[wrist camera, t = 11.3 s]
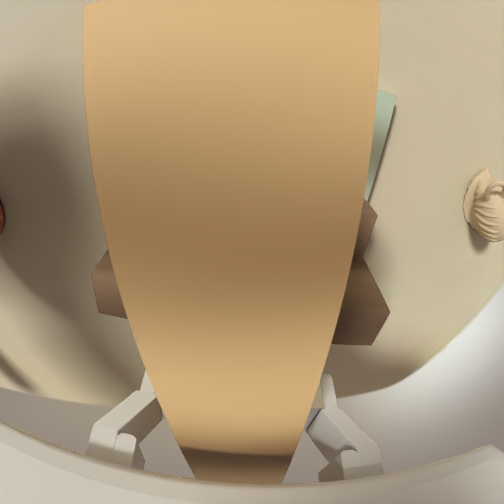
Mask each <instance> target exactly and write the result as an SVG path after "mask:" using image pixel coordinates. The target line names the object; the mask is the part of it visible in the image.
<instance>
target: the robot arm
mask: <svg viewBox="0 0 504 504" xmlns="http://www.w3.org/2000/svg"><path fill="white" fill-rule="evenodd" d="M162 418H166V417H165V415H164V413H163V410H162V408H161V406H160V404H159V401H158V399H157V396H156V394H155V392H154V389H153V387H152V384H151V382H150V379H149V377H148V374H147V372H146V370H145V374H144V377H143V381H142V385H141V388H140V391H138V390H136V391H134V392H133V393H132V394H131V395H130V396H128V397H127V398H126V399H125V400H123V401H122V402H121V403H120V404H119V405H117V406H116V407H115V408H114V409H112V410H111V411H110V412H109V413H107V414H106V415H105V416H104V417H102V418H101V419H100V420H99V421H97V422H96V423H95V424H94V427H93V429H92V433H91V436H90V439H89V443H88V446H87V450H86V453H85V454H82V453H79V452H76V451H73V450H70V449H68V448H65V447H62V446H60V445H57V444H54V443H52V442H49V441H47V440H44V439H42V438H39V437H37V436H35V435H32V434H30V433H28V432H25V431H23V430H21V429H19V428H17V427H15V426H13V425H11V424H9V423H6V422H5V421H3V420H1V419H0V504H504V453H503V452H502V451H500V450H499V449H498V448H497V447H495V446H494V445H490V444H489V445H485V446H482V447H479V448H477V449H474V450H471V451H468V452H466V453H463V454H460V455H457V456H454V457H450V458H447V459H444V460H441V461H437V462H433V463H430V464H426V465H422V466H418V467H414V468H410V469H406V470H401V471H396V472H391V473H386V474H384V472H383V467H382V462H381V457H380V453H379V449H378V446H377V445H376V444H375V443H374V442H373V441H372V440H371V439H370V437H369V436H368V435H367V434H366V433H365V432H364V431H363V430H362V429H361V428H360V427H359V426H358V425H357V424H356V423H355V422H354V421H353V420H352V419H351V418H350V417H349V416H348V415H347V413H346V412H345V411H344V410H343V409H338V404H337V399H336V394H335V389H334V385H333V380H332V376H331V375H330V374H322V375H321V379H320V382H319V385H318V388H317V391H316V394H315V397H314V400H313V403H312V406H311V409H310V412H309V415H308V417H307V420H306V423H305V426H304V429H303V430H306V432H307V434H308V435H309V436H310V438H311V439H312V441H313V442H314V443H315V445H316V446H317V448H318V449H319V450H320V452H321V453H322V454H323V456H324V457H325V458H326V460H327V461H328V462H329V464H328V465H327V466H326V467H325V468H324V469H322V470H321V471H320V472H319V473H318V475H319V482H314V483H292V484H255V483H234V482H220V481H210V480H201V479H192V478H184V477H179V476H172V475H166V474H161V473H156V472H150V471H145V470H144V464H145V460H144V457H143V455H142V452H141V450H140V447H139V445H138V444H139V443H140V442H141V441H142V440H143V439H144V438H145V437H146V436H147V435H148V434H149V433H150V432H151V431H152V429H153V428H155V426H156V425H157V424H158V423H159V422H160V421H161V420H162Z"/></svg>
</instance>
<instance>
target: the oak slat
mask: <svg viewBox="0 0 504 504" xmlns="http://www.w3.org/2000/svg"><path fill="white" fill-rule="evenodd" d="M379 52H380V0H102V1H98V2H95V3H91V4H88V5H85V6H84V15H83V78H84V96H85V110H86V121H87V131H88V139H89V148H90V155H91V162H92V169H93V175H94V182H95V188H96V193H97V199H98V204H99V209H100V214H101V219H102V224H103V228H104V233H105V237H106V242H107V246H108V250H109V254H110V258H111V262H112V266H113V270H114V274H115V277H116V281H117V284H118V288H119V291H120V295H121V298H122V302H123V305H124V308H125V311H126V315H127V318H128V321H129V324H130V327H131V330H132V333H133V336H134V339H135V342H136V345H137V347H138V350H139V353H140V356H141V358H142V361H143V364H144V366H145V369H146V372H147V374H148V377H149V379H150V382H151V384H152V387H153V389H154V392H155V394H156V396H157V399H158V401H159V404H160V406H161V408H162V410H163V413H164V415H165V417H166V419H167V422H168V424H169V426H170V428H171V430H172V432H173V434H174V437H175V439H176V441H177V442H178V445H179V447H180V449H181V451H182V453H183V455H184V457H185V459H186V461H187V462H188V465H189V466H190V468H191V470H192V472H193V474H194V476H195V477H196V479H201V480H210V481H220V482H234V483H255V484H282V481H283V479H284V477H285V474H286V472H287V470H288V467H289V465H290V463H291V460H292V457H293V455H294V452H295V450H296V447H297V445H298V442H299V439H300V437H301V434H302V431H303V429H304V426H305V423H306V420H307V417H308V415H309V412H310V409H311V406H312V403H313V400H314V397H315V394H316V391H317V388H318V385H319V382H320V379H321V375H322V372H323V369H324V366H325V363H326V359H327V356H328V352H329V349H330V346H331V342H332V339H333V335H334V331H335V328H336V324H337V320H338V316H339V313H340V309H341V305H342V301H343V297H344V293H345V289H346V284H347V280H348V276H349V271H350V267H351V262H352V258H353V253H354V248H355V244H356V239H357V234H358V228H359V223H360V218H361V212H362V207H363V201H364V195H365V189H366V182H367V176H368V169H369V162H370V154H371V147H372V139H373V130H374V121H375V111H376V100H377V87H378V72H379Z"/></svg>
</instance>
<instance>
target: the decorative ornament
mask: <svg viewBox="0 0 504 504" xmlns="http://www.w3.org/2000/svg"><path fill="white" fill-rule="evenodd" d="M499 186H501V187H503V189H502V191H501V189H500V187H499ZM463 209H464V215H465V219H466V221H467V222H469V223H470V224H471V227H472V228H474V229H476V231H477V232H479V233H480V235H481V236H482V237H483V238H484V239H486V240H487V241H489V242H498V241H501V240H503V239H504V181H502V180H496V181H495V180H494V179H493V178H492V177H491V176H490V174H489V172H488V170H487V168H485V169H484V170H483V171H482V172H481V173H479V174H478V175H477V176H476V177H475V178H474V179H473V180H472V182H471V183H470V185H469V186H468V190H467V192H466V194H465V199H464V202H463Z"/></svg>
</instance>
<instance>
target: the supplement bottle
mask: <svg viewBox="0 0 504 504" xmlns="http://www.w3.org/2000/svg"><path fill="white" fill-rule="evenodd" d="M3 226H4V215H3V210H2V207H1V204H0V234H1V232H2V230H3Z"/></svg>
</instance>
